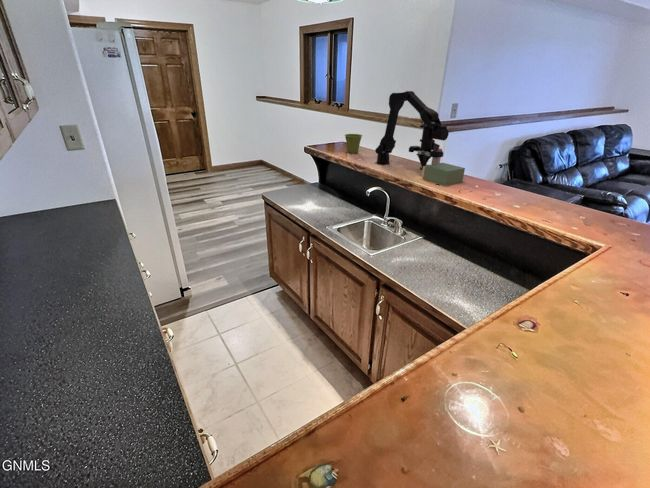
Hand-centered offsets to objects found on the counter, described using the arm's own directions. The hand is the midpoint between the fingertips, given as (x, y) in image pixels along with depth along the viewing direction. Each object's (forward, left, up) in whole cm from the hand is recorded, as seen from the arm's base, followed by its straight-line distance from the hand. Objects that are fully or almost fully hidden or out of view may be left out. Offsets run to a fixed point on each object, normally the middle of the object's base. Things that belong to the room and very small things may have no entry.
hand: (423, 167), depth 185 cm
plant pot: (-63, +16, -4) cm, 65 cm away
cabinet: (+13, -2, -4) cm, 14 cm away
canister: (0, +13, -4) cm, 14 cm away
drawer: (+9, -2, -3) cm, 9 cm away
